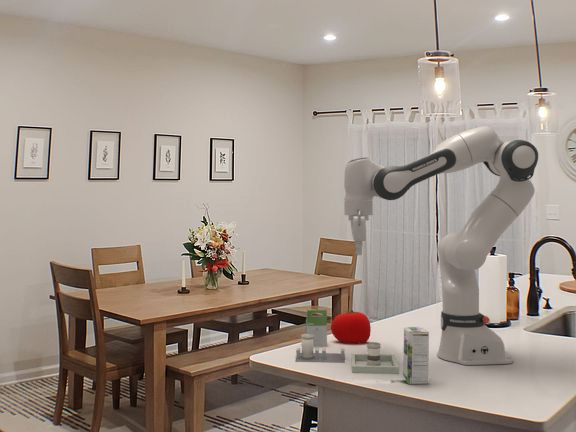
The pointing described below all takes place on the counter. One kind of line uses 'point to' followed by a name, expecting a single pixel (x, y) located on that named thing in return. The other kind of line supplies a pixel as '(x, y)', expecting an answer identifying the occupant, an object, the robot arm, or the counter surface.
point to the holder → (316, 352)
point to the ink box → (317, 327)
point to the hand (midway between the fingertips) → (358, 253)
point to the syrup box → (416, 355)
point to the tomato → (351, 327)
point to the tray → (374, 369)
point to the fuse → (373, 354)
